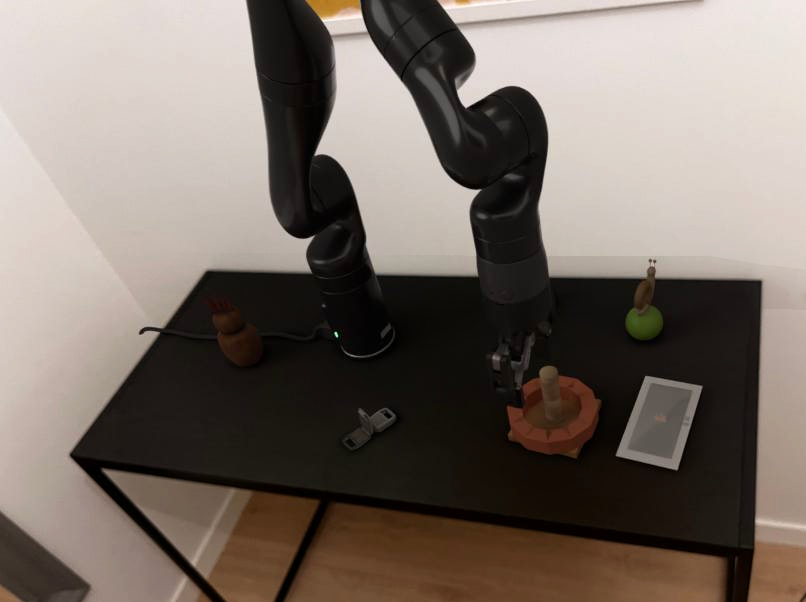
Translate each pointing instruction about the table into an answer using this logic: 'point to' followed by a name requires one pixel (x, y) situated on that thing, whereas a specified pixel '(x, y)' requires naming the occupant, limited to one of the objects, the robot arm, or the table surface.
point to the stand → (553, 408)
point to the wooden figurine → (235, 333)
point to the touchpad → (660, 422)
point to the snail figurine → (645, 310)
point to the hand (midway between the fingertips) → (529, 380)
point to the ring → (556, 438)
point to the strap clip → (369, 427)
